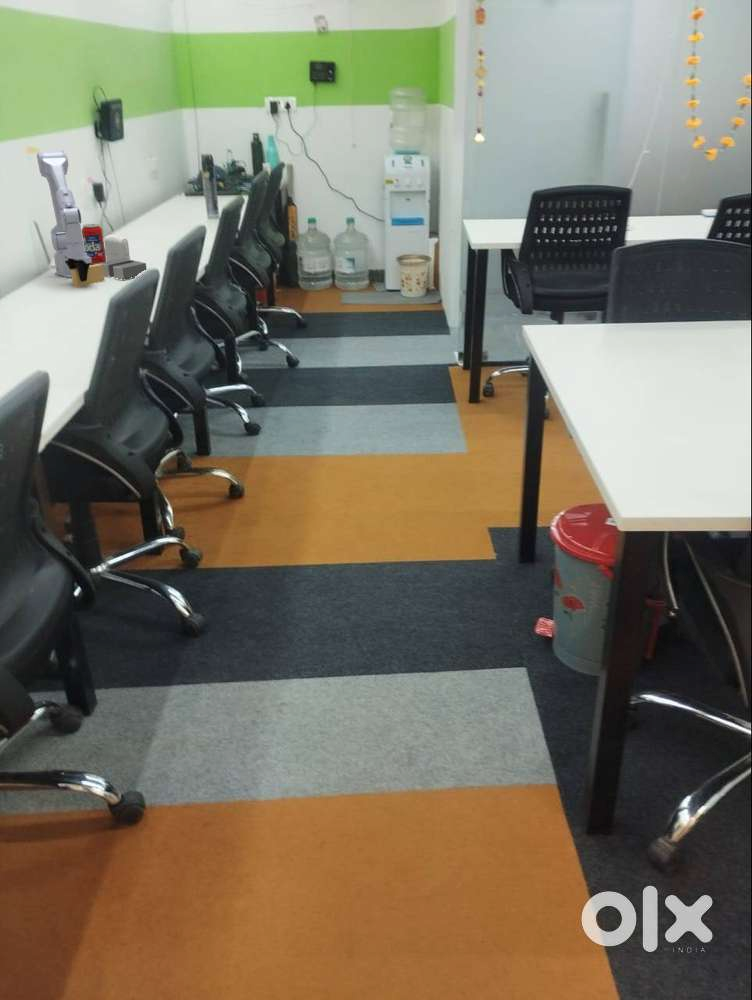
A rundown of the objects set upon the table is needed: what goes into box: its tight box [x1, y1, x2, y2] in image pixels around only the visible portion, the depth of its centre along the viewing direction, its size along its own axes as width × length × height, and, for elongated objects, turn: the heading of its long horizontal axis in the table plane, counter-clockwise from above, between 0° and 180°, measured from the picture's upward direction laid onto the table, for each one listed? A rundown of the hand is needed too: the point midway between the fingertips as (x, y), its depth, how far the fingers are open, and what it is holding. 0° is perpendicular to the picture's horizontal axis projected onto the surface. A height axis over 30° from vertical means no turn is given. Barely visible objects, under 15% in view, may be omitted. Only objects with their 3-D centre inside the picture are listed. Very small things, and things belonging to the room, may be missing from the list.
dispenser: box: [99, 258, 148, 281], centre depth 323 cm, size 14×12×4 cm
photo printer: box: [104, 234, 131, 262], centre depth 334 cm, size 10×4×12 cm, turn 61°
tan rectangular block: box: [71, 264, 106, 287], centre depth 312 cm, size 2×12×6 cm, turn 142°
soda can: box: [81, 223, 107, 265], centre depth 338 cm, size 8×8×15 cm
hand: (80, 280), depth 310 cm, fingers open, 3 cm apart
